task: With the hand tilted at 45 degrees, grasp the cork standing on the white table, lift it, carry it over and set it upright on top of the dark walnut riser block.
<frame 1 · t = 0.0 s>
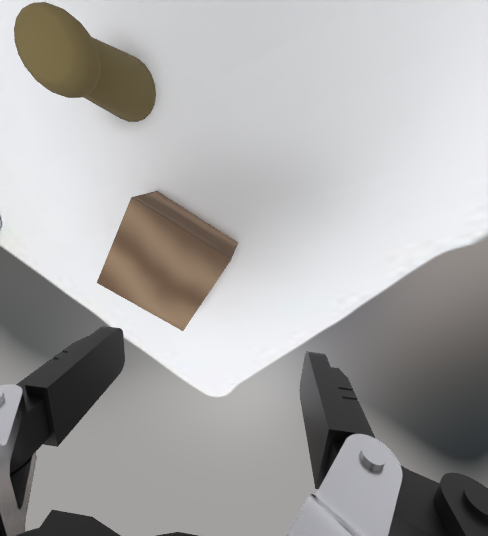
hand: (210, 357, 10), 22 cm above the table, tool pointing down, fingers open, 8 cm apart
cork: (129, 90, 26), on the table
walnut riser: (178, 253, 33), on the table
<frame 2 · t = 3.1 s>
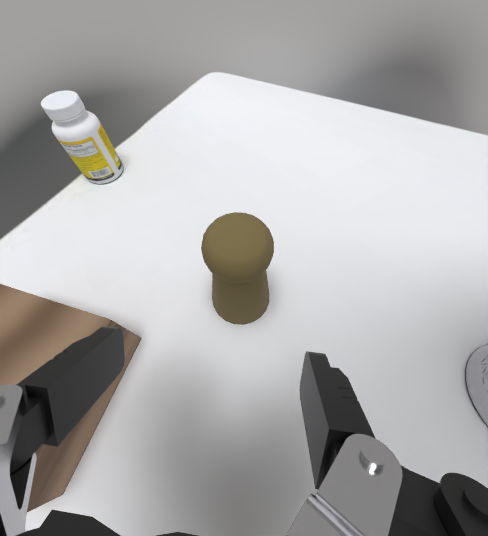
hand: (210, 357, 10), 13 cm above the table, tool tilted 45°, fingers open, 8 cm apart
cork: (240, 297, 26), on the table
supplement bottle: (105, 173, 36), on the table
walnut riser: (49, 383, 22), on the table
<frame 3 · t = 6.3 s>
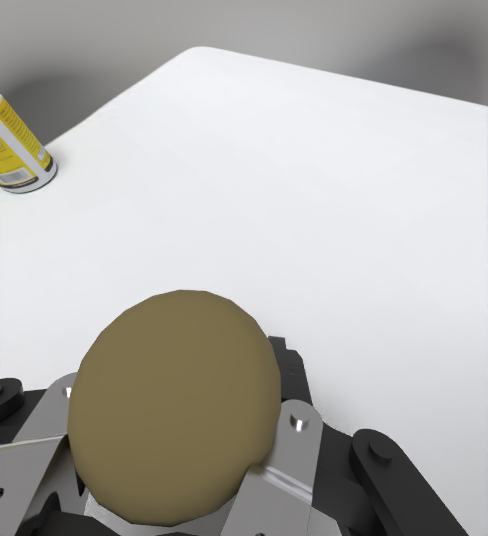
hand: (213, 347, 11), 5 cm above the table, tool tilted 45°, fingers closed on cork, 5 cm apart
cork: (218, 395, 15), on the table, touching gripper
supplement bottle: (31, 177, 25), on the table
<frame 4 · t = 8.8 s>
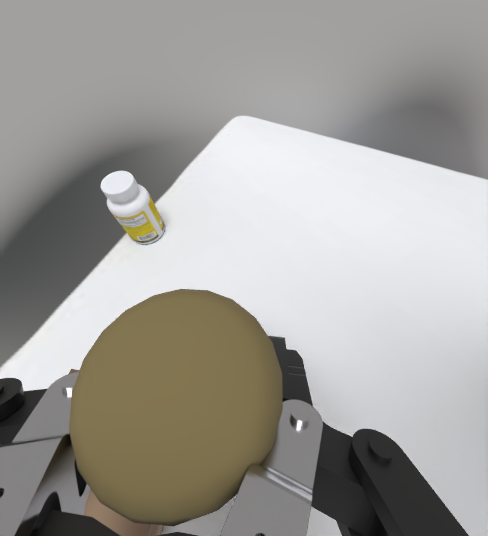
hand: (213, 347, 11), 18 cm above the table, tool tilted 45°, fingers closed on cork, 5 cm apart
cork: (219, 395, 15), point 13 cm above the table, touching gripper
supplement bottle: (148, 232, 38), on the table
walnut riser: (124, 455, 24), on the table
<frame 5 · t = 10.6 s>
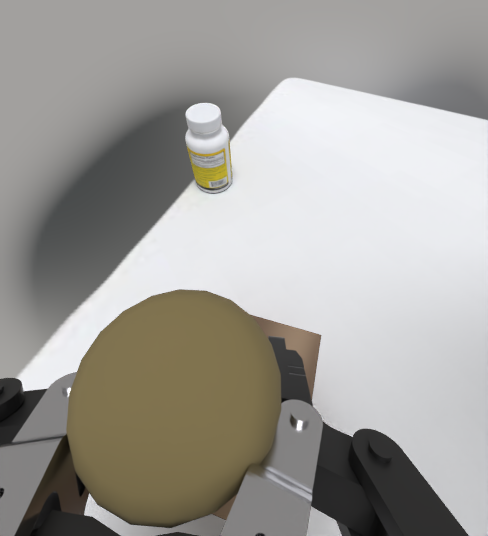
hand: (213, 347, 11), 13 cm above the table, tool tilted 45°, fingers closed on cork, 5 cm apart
cork: (218, 395, 15), point 8 cm above the table, touching gripper
supplement bottle: (214, 182, 36), on the table
walnut riser: (228, 395, 22), on the table
when the fingers open (12 cm above the table, at t = 11.8 s): cork drops 1 cm, resting on walnut riser.
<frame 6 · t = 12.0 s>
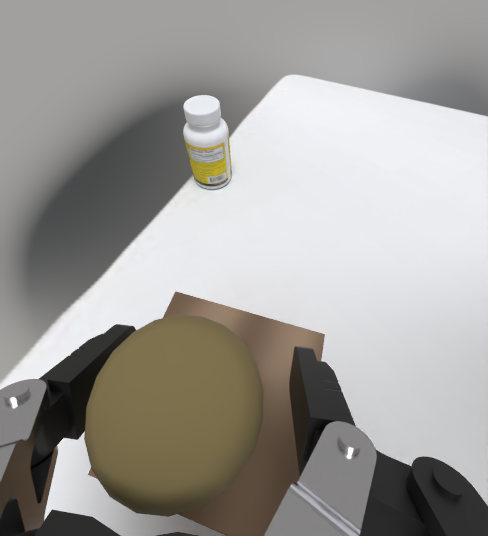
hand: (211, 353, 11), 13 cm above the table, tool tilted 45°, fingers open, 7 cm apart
cork: (215, 400, 16), point 6 cm above the table, touching walnut riser
supplement bottle: (213, 178, 35), on the table
walnut riser: (227, 397, 21), on the table
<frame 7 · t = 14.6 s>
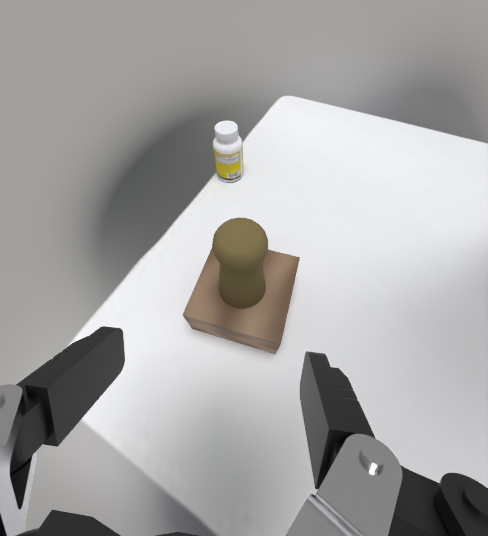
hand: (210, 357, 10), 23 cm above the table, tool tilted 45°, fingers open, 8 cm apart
cork: (242, 286, 31), point 6 cm above the table, touching walnut riser
supplement bottle: (230, 175, 50), on the table
walnut riser: (245, 301, 36), on the table
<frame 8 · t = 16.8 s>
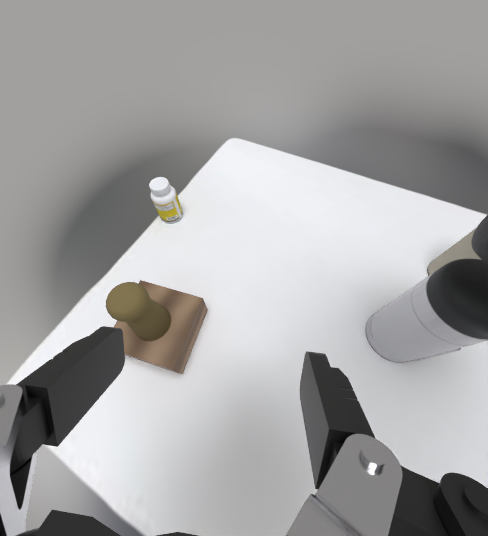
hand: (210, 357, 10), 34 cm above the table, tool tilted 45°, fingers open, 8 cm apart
cork: (153, 322, 40), point 6 cm above the table, touching walnut riser
supplement bottle: (172, 215, 59), on the table
walnut riser: (165, 330, 45), on the table
travel mug: (446, 276, 50), on the table
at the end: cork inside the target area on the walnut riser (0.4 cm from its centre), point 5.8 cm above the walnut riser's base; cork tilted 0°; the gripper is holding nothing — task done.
